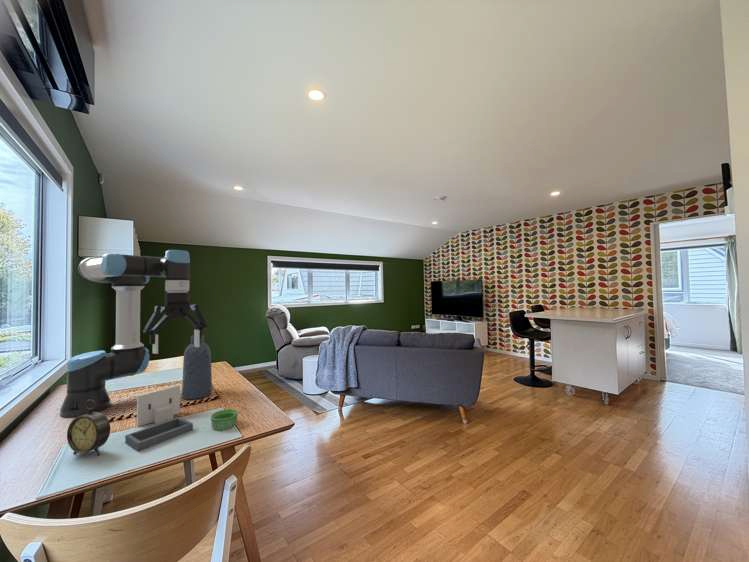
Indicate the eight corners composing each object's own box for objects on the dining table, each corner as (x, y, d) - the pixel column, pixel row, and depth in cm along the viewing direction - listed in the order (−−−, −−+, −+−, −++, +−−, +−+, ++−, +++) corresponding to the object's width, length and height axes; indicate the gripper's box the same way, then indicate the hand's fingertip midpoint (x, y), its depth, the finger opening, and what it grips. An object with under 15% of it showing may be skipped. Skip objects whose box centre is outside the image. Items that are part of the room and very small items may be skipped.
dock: (125, 442, 96) (125, 435, 96) (179, 423, 110) (179, 417, 110) (138, 451, 91) (138, 443, 91) (192, 430, 104) (192, 423, 105)
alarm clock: (64, 456, 89) (65, 401, 89) (85, 446, 94) (85, 395, 95) (95, 459, 87) (96, 403, 88) (114, 449, 92) (115, 397, 93)
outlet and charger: (136, 425, 108) (137, 395, 109) (178, 412, 120) (178, 384, 121) (150, 433, 102) (150, 401, 103) (193, 418, 114) (193, 389, 114)
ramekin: (228, 418, 114) (228, 407, 114) (243, 423, 110) (243, 411, 110) (205, 428, 106) (205, 415, 107) (219, 434, 102) (220, 421, 102)
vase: (190, 391, 145) (190, 333, 145) (216, 390, 146) (216, 333, 147) (176, 401, 133) (176, 337, 133) (204, 399, 134) (205, 337, 135)
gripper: (139, 292, 97) (139, 357, 96) (216, 291, 117) (216, 345, 117) (131, 292, 101) (131, 355, 101) (207, 291, 122) (207, 343, 121)
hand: (177, 349), depth 109 cm, fingers open, 13 cm apart
